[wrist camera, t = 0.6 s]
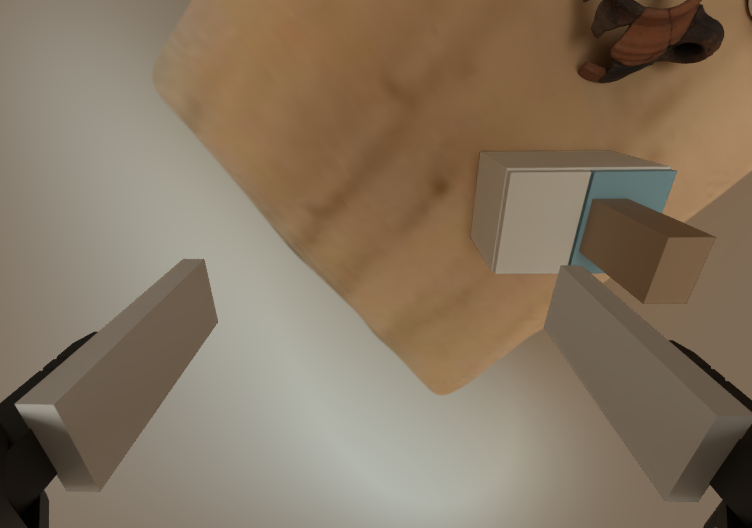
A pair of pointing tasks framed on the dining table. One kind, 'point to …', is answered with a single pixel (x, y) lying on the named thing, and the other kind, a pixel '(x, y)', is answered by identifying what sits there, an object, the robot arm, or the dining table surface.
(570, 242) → the carton
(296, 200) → the dining table surface
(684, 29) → the pottery mug
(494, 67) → the dining table surface
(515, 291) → the dining table surface
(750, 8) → the can
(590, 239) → the flap
